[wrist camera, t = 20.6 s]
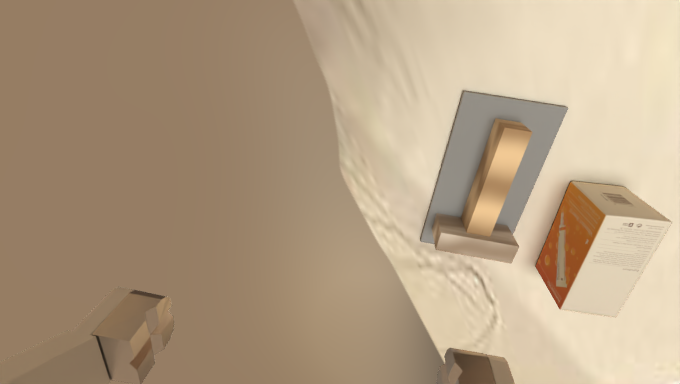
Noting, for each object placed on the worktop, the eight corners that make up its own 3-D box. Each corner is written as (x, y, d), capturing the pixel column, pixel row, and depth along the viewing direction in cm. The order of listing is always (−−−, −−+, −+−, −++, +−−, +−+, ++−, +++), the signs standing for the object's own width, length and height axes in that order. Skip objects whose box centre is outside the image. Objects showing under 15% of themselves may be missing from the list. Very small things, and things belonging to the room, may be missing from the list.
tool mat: (463, 90, 38) (464, 91, 38) (565, 106, 38) (568, 107, 37) (420, 239, 48) (420, 241, 47) (501, 253, 47) (503, 256, 46)
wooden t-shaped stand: (467, 113, 39) (476, 125, 35) (549, 127, 38) (568, 140, 34) (431, 229, 46) (435, 249, 42) (500, 241, 45) (511, 263, 42)
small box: (605, 214, 34) (559, 311, 40) (675, 221, 34) (618, 319, 40) (568, 179, 41) (533, 266, 47) (625, 185, 41) (583, 272, 47)
